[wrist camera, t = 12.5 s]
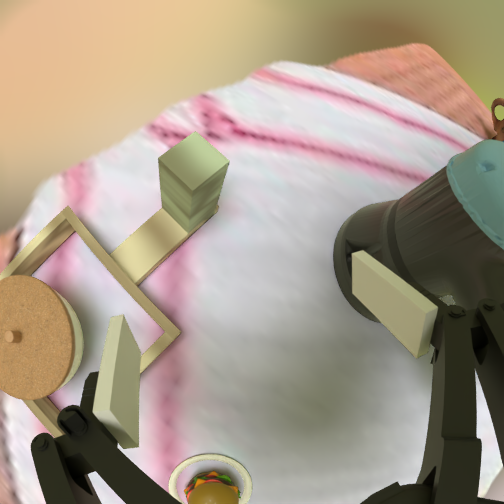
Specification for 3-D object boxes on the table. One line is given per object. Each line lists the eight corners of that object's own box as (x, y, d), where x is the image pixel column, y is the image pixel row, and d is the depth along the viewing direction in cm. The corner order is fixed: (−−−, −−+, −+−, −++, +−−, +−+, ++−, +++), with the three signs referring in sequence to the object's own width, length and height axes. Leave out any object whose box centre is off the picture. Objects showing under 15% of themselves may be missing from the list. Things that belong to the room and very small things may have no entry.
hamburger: (245, 424, 30) (258, 439, 25) (275, 506, 27) (291, 528, 22) (138, 451, 26) (131, 470, 21) (177, 533, 24) (179, 558, 19)
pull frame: (156, 153, 35) (152, 89, 25) (259, 252, 34) (294, 213, 24) (-17, 318, 25) (-76, 304, 15) (75, 439, 24) (35, 474, 14)
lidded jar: (110, 315, 29) (84, 304, 21) (79, 407, 26) (44, 427, 17) (31, 274, 28) (-11, 249, 19) (1, 360, 25) (-47, 360, 16)
